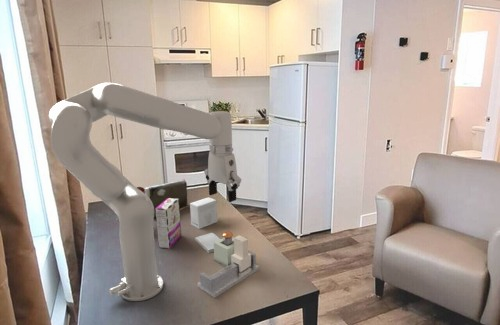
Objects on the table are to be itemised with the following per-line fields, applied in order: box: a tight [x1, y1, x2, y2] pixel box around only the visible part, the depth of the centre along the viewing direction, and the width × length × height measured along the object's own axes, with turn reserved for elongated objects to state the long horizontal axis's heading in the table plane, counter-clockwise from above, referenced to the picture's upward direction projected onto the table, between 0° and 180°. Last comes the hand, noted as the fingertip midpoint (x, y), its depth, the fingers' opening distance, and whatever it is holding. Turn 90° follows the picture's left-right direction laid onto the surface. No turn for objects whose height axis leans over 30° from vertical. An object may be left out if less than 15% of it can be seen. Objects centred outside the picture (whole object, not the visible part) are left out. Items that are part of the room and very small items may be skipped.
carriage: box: [231, 234, 251, 272], centre depth 108 cm, size 5×4×10 cm
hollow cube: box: [213, 237, 235, 268], centre depth 115 cm, size 7×7×7 cm
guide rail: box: [197, 250, 260, 299], centre depth 105 cm, size 20×8×5 cm, turn 137°
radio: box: [144, 179, 189, 219], centre depth 158 cm, size 23×9×15 cm, turn 132°
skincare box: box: [189, 196, 219, 230], centre depth 145 cm, size 10×6×10 cm, turn 135°
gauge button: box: [222, 231, 234, 246], centre depth 114 cm, size 4×4×7 cm
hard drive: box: [194, 232, 221, 254], centre depth 128 cm, size 2×8×12 cm
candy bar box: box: [155, 198, 182, 249], centre depth 128 cm, size 11×5×16 cm, turn 168°
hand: (222, 197), depth 113 cm, fingers open, 9 cm apart
